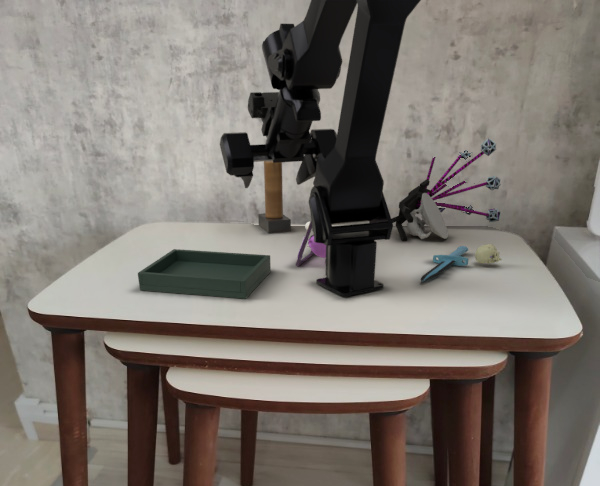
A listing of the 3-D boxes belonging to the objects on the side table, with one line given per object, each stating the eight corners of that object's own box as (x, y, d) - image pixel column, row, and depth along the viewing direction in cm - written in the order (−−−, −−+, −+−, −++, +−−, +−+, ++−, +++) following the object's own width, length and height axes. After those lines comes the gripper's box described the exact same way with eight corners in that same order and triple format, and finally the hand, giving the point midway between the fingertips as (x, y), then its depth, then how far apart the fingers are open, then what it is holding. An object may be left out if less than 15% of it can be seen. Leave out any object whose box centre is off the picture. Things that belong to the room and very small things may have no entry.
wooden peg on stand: (290, 231, 103) (290, 162, 98) (268, 233, 102) (266, 164, 97) (280, 223, 108) (278, 157, 103) (258, 225, 107) (256, 159, 101)
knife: (403, 284, 79) (439, 289, 77) (403, 275, 79) (440, 279, 76) (448, 251, 92) (481, 254, 89) (448, 243, 91) (481, 246, 89)
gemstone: (469, 260, 87) (472, 240, 86) (497, 261, 87) (501, 240, 85) (472, 267, 84) (475, 246, 83) (502, 267, 84) (505, 246, 83)
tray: (270, 271, 84) (270, 255, 83) (246, 299, 74) (245, 280, 73) (175, 264, 87) (173, 248, 85) (139, 290, 77) (137, 272, 76)
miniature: (429, 190, 100) (404, 205, 102) (418, 195, 93) (391, 211, 96) (451, 234, 101) (425, 248, 103) (441, 241, 94) (414, 256, 97)
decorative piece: (347, 269, 104) (448, 211, 119) (411, 280, 94) (513, 214, 110) (332, 184, 96) (442, 133, 111) (400, 185, 87) (511, 130, 102)
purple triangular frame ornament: (327, 206, 89) (305, 219, 82) (358, 220, 88) (339, 235, 81) (312, 247, 93) (290, 263, 86) (342, 261, 92) (323, 279, 85)
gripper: (338, 71, 92) (311, 141, 107) (218, 72, 87) (207, 146, 101) (357, 133, 90) (327, 195, 104) (234, 138, 84) (221, 204, 99)
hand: (271, 184), depth 102 cm, fingers open, 9 cm apart
